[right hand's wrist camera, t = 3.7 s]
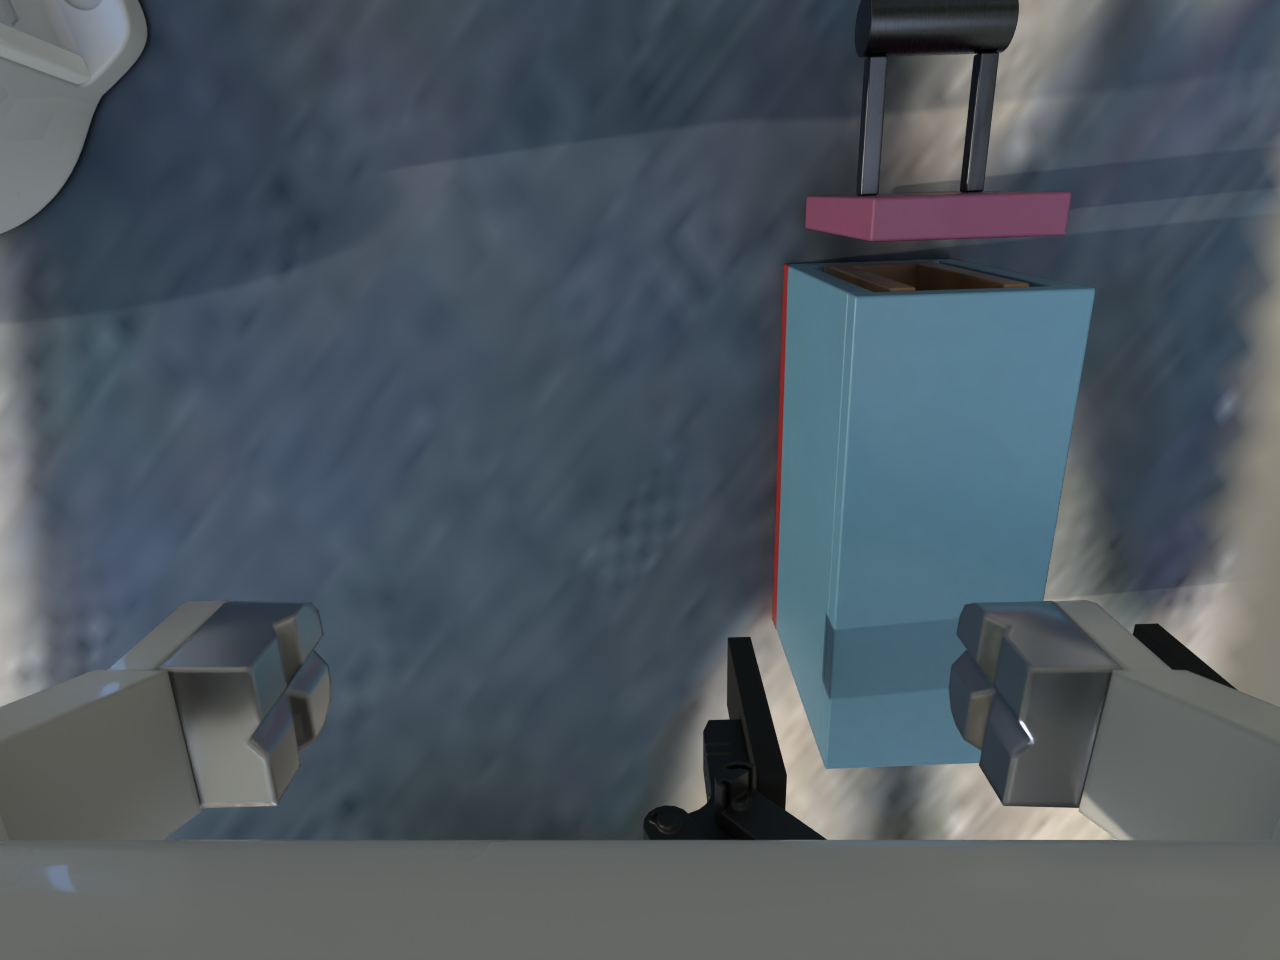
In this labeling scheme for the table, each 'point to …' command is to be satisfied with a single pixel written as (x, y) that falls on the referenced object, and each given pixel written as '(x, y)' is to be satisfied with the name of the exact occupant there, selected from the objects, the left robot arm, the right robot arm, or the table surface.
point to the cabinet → (913, 490)
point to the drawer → (963, 24)
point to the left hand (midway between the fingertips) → (937, 664)
